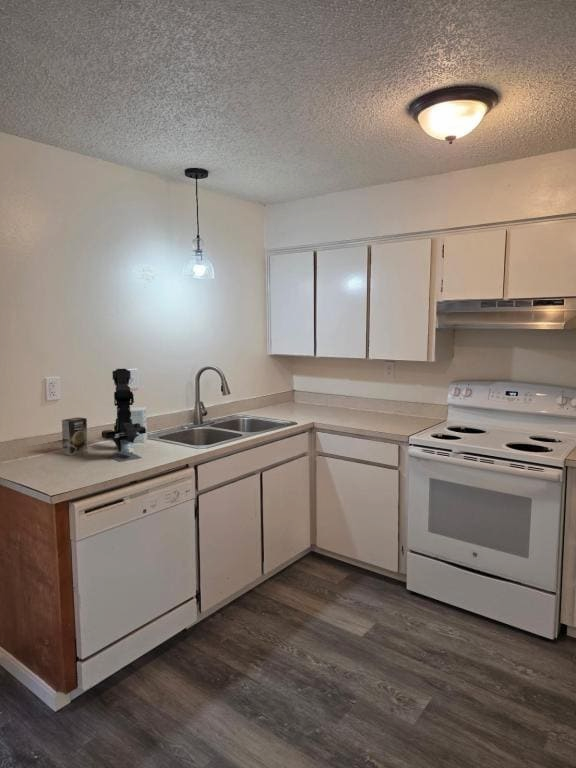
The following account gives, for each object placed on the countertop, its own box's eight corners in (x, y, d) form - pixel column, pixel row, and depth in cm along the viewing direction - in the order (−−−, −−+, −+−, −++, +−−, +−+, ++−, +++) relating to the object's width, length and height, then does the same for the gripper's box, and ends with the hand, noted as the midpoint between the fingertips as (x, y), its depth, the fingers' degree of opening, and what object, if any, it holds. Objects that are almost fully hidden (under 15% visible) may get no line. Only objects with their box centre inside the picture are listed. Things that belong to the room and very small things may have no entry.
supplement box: (147, 438, 266) (147, 406, 264) (144, 442, 257) (144, 409, 255) (129, 438, 265) (128, 407, 263) (125, 442, 256) (124, 410, 254)
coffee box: (71, 456, 229) (69, 421, 227) (62, 454, 233) (60, 419, 231) (88, 451, 237) (87, 418, 235) (79, 449, 240) (78, 416, 238)
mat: (108, 456, 229) (108, 455, 229) (129, 452, 236) (129, 451, 236) (120, 461, 220) (120, 460, 220) (141, 457, 227) (141, 457, 227)
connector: (115, 451, 230) (115, 441, 229) (124, 450, 233) (124, 439, 232) (126, 456, 221) (126, 445, 221) (136, 455, 224) (136, 444, 224)
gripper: (111, 422, 214) (112, 457, 216) (151, 416, 226) (152, 450, 228) (100, 418, 222) (101, 452, 224) (139, 413, 235) (140, 446, 236)
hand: (124, 450), depth 228 cm, fingers closed on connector, 4 cm apart
